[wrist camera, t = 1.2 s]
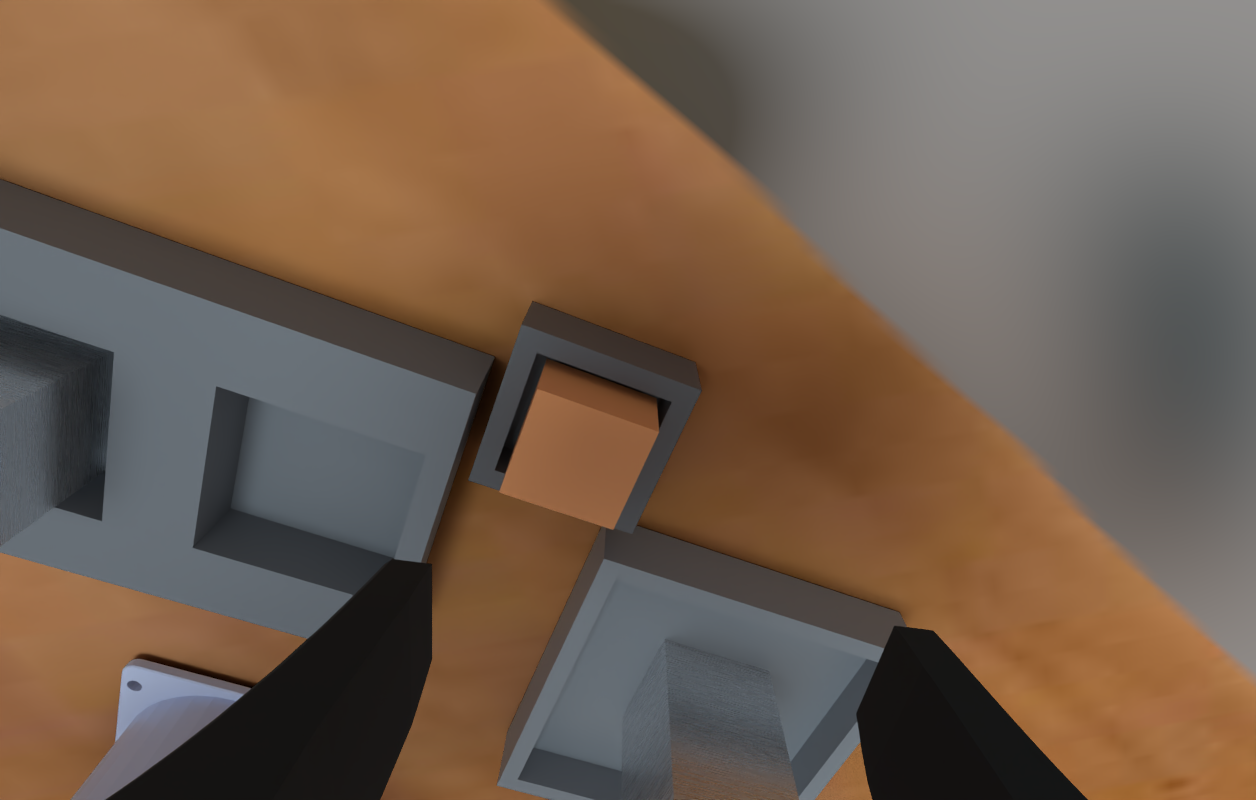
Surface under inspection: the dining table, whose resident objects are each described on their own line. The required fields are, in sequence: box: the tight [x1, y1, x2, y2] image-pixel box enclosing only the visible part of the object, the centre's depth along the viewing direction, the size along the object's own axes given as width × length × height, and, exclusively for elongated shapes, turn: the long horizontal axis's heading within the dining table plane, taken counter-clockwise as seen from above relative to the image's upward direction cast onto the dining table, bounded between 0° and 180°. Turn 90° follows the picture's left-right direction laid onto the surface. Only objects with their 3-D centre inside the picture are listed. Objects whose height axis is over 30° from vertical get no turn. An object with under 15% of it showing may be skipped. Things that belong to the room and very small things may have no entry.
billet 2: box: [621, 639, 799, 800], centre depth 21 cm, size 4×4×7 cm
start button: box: [499, 359, 659, 530], centre depth 18 cm, size 3×3×2 cm
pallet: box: [0, 179, 495, 639], centre depth 19 cm, size 10×15×3 cm, turn 69°
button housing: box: [468, 301, 702, 534], centre depth 19 cm, size 5×5×2 cm
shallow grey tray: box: [497, 526, 907, 800], centre depth 24 cm, size 11×11×2 cm
